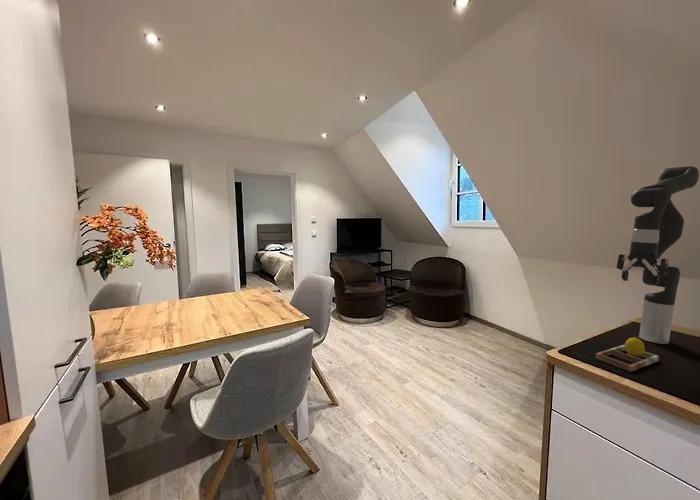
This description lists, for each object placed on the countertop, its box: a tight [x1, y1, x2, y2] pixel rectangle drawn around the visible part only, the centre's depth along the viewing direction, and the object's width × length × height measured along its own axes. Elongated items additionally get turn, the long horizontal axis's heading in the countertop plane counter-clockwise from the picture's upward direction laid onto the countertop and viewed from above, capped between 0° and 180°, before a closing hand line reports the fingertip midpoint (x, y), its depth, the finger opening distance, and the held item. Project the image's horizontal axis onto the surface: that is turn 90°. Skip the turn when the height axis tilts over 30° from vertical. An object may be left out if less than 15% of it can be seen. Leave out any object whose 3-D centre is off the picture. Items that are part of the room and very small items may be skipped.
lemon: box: [624, 337, 646, 358], centre depth 114 cm, size 6×6×8 cm
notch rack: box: [595, 344, 660, 373], centre depth 112 cm, size 20×11×2 cm, turn 115°
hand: (639, 282), depth 116 cm, fingers open, 8 cm apart
